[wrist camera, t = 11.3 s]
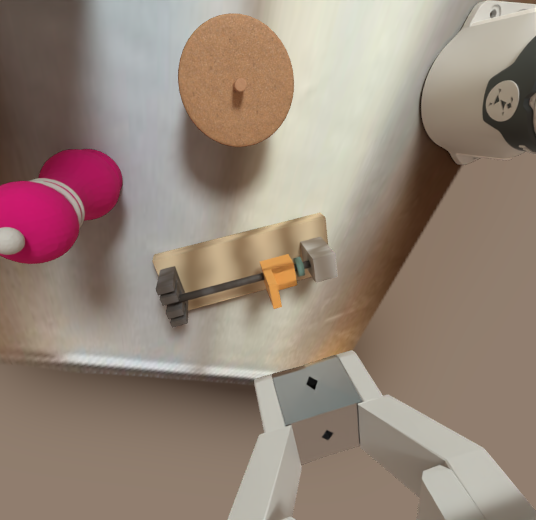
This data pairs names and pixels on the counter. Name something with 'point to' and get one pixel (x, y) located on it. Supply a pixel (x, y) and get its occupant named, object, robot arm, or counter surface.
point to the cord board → (240, 264)
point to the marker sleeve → (278, 276)
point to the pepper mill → (56, 204)
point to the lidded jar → (236, 80)
